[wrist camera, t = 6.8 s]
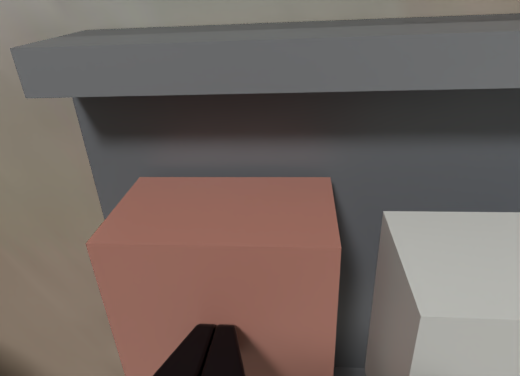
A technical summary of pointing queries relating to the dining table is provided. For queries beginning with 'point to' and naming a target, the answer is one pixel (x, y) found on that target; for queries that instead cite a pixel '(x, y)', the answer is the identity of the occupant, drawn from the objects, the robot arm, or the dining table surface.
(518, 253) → the off-white square block
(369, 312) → the panel
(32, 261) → the dining table surface
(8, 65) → the dining table surface
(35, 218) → the dining table surface
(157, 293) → the key red
